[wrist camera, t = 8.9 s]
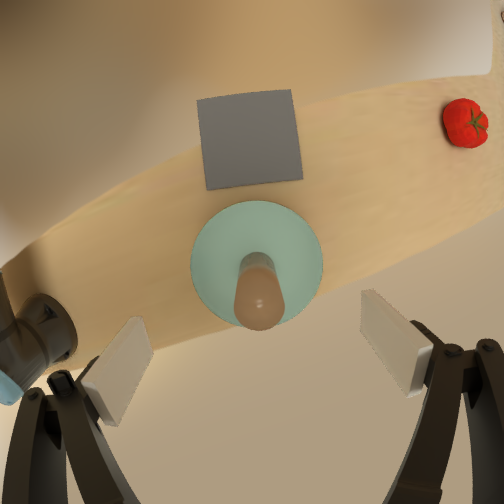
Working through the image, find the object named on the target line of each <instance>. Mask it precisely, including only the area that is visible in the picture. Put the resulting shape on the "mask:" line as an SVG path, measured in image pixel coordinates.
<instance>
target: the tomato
mask: <svg viewBox="0 0 504 504" xmlns="http://www.w3.org/2000/svg"><path fill="white" fill-rule="evenodd" d="M443 121H444V125H445V127H446V129H447V134H448V137H449V139H450V140H451V142H452V143H453V144H454V145H456V146H459V147H466V148H475V147H477V146H480V145H482V144H483V143H484V142H485V141H486V140H487V138H488V135H487V132H486V130H487V128H488V119H487V117H486V115H485V114H484V113H483V112H482V111H481V110H480V106H479V105H478V104H477V103H475V102H474V101H472V100H469V99H465V98H462V99H457V100H454V101H452V102H450V103H449V104H448V105H447V107H446V108H445V110H444V113H443ZM487 131H488V130H487Z"/></svg>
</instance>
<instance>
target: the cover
mask: <svg viewBox="0 0 504 504" xmlns="http://www.w3.org/2000/svg"><path fill="white" fill-rule="evenodd" d="M190 268H191V276H192V280H193V284H194V287H195V289H196V292H197V293H198V295H199V297H200V299H201V300H202V301H203V303H204V304H205V305H206V306H207V307H208V308H209V310H210V311H212V312H213V313H214V314H215V315H217V316H218V317H220V318H221V319H223V320H225V321H227V322H229V323H231V324H234V325H237V326H241V327H246V328H248V329H251V330H256V331H262V330H267V329H270V328H272V327H274V326H275V325H279V324H281V323H284V322H286V321H288V320H290V319H292V318H293V317H295V316H296V315H297V314H299V313H300V312H301V311H302V310H303V309H304V308H305V307H306V306H307V305H308V304H309V302H310V301H311V300H312V299H313V297H314V295H315V294H316V292H317V289H318V287H319V284H320V281H321V277H322V272H323V258H322V251H321V247H320V244H319V242H318V239H317V237H316V235H315V233H314V232H313V230H312V229H311V227H310V226H309V225H308V223H307V222H306V221H305V220H304V219H303V218H301V217H300V216H299V215H298V214H296V213H295V212H294V211H292V210H290V209H288V208H287V207H285V206H282V205H280V204H277V203H273V202H269V201H261V200H254V201H245V202H240V203H237V204H234V205H231V206H229V207H227V208H225V209H223V210H222V211H220V212H219V213H217V214H216V215H215V216H214V217H213V218H211V219H210V220H209V221H208V222H207V223H206V225H205V226H204V227H203V228H202V230H201V231H200V233H199V234H198V236H197V239H196V241H195V243H194V246H193V249H192V254H191V264H190Z"/></svg>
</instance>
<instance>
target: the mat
mask: <svg viewBox="0 0 504 504" xmlns="http://www.w3.org/2000/svg"><path fill="white" fill-rule="evenodd" d="M197 107H198V117H199V127H200V136H201V146H202V154H203V163H204V171H205V179H206V186H207V190H213V189H221V188H228V187H235V186H243V185H252V184H260V183H269V182H279V181H289V180H300V179H303V173H302V164H301V156H300V148H299V141H298V133H297V126H296V120H295V113H294V106H293V100H292V95H291V90H274V91H261V92H251V93H243V94H234V95H227V96H219V97H214V98H207V99H201V100H197Z"/></svg>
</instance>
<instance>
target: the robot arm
mask: <svg viewBox="0 0 504 504" xmlns="http://www.w3.org/2000/svg"><path fill="white" fill-rule="evenodd" d="M361 301H362V302H361V326H360V331H361V333H362V334H363V335H364V337H365V338H366V340H367V341H368V343H369V344H370V345H371V346H372V348H373V350H374V351H375V352H376V354H377V355H378V357H379V358H380V359H381V361H382V362H383V363H384V365H385V366H386V368H387V369H388V371H389V372H390V374H391V375H392V376H393V378H394V379H395V381H396V382H397V384H398V385H399V387H400V388H401V390H402V391H403V393H404V394H405V396H406V397H407V398H409V397H411V396H414V395H417V394H419V393H421V391H422V388H423V384H425V385H426V387H427V388H428V389H427V393H426V396H425V399H424V402H423V407H422V410H421V413H420V416H419V419H418V423H417V425H416V429H415V431H414V434H413V437H412V439H411V442H410V445H409V447H408V450H407V452H406V455H405V457H404V460H403V462H402V464H401V466H400V469H399V471H398V473H397V475H396V477H395V480H394V482H393V484H392V486H391V488H390V490H389V492H388V494H387V496H386V498H385V500H384V501H383V503H382V504H439V502H440V500H441V496H442V490H441V489H440V488H441V483H442V480H443V477H444V474H445V471H446V467H447V464H448V460H449V456H450V452H451V448H452V444H453V439H454V435H455V430H456V425H457V419H458V413H459V407H460V400H461V393H463V395H464V401H465V406H466V413H467V418H468V426H469V434H470V443H471V455H472V471H473V472H472V473H473V500H472V501H473V502H472V503H473V504H504V353H503V351H502V349H501V347H500V345H499V344H498V342H496V341H495V340H493V339H481V340H480V341H478V343H477V345H476V349H475V350H467V351H464V350H463V348H461V347H460V346H458V345H456V344H444V343H443V342H442V341H441V340H440V339H439V338H438V337H437V336H436V335H434V334H433V333H432V332H431V331H430V330H429V329H427V328H426V326H424V325H423V324H422V323H420V322H417V321H415V320H412V321H408V320H407V319H406V318H405V317H404V316H403V315H402V314H401V313H400V312H399V311H397V310H396V309H395V308H394V307H393V306H392V305H391V304H390V303H388V302H387V301H386V300H385V299H384V298H383V297H382V296H381V295H380V294H378V293H377V292H376V291H375V290H374V289H369V290H364V291H362V300H361ZM76 348H77V334H76V331H75V327H74V325H73V323H72V321H71V319H70V317H69V315H68V314H67V312H66V311H65V310H64V308H63V307H62V306H61V305H60V304H59V303H58V302H57V301H56V300H54V299H53V298H51V297H50V296H48V295H45V294H36V295H34V296H32V297H30V298H29V299H27V300H26V301H25V303H24V304H23V306H22V307H21V309H20V310H19V312H18V314H17V315H16V317H15V316H14V314H13V311H12V308H11V305H10V301H9V298H8V295H7V292H6V288H5V285H4V281H3V277H2V271H1V270H0V403H1V404H4V405H13V404H14V403H15V402H16V401H18V400H19V399H20V398H21V397H22V400H21V403H20V407H19V410H18V413H17V417H16V421H15V425H14V429H13V433H12V437H11V442H10V446H9V451H8V457H7V462H6V468H5V476H4V484H3V494H2V504H68V498H67V481H66V451H67V455H68V458H69V461H70V464H71V468H72V471H73V474H74V477H75V480H76V482H77V485H78V488H79V490H80V493H81V495H82V498H83V501H84V503H85V504H141V503H140V502H139V500H138V499H137V497H136V496H135V494H134V492H133V491H132V489H131V487H130V486H129V484H128V482H127V480H126V479H125V477H124V475H123V473H122V471H121V470H120V468H119V466H118V464H117V462H116V460H115V458H114V456H113V454H112V452H111V450H110V448H109V446H108V444H107V442H106V439H105V438H104V435H103V433H102V430H101V428H100V426H99V425H98V423H97V421H98V419H99V417H100V418H101V419H102V421H103V423H104V424H105V425H110V426H115V427H118V426H119V424H120V421H121V419H122V417H123V415H124V413H125V411H126V409H127V407H128V405H129V403H130V401H131V399H132V396H133V394H134V392H135V390H136V388H137V386H138V384H139V382H140V380H141V378H142V376H143V374H144V372H145V370H146V368H147V366H148V364H149V362H150V360H151V358H152V357H153V354H154V353H153V350H152V347H151V344H150V341H149V338H148V335H147V331H146V328H145V325H144V321H143V318H142V316H136V317H131V318H130V319H129V320H128V321H127V322H126V324H125V325H124V326H123V327H122V329H121V330H120V331H119V332H118V334H117V335H116V336H115V337H114V339H113V340H112V341H111V342H110V344H109V345H108V346H107V347H106V349H105V350H104V351H103V353H102V354H101V355H100V356H97V357H95V358H94V359H93V360H91V361H90V363H89V364H88V365H87V367H86V368H85V369H84V370H83V372H82V373H81V374H80V375H79V377H78V378H77V379H76V381H75V382H74V380H73V378H72V376H71V374H70V372H69V371H67V370H59V371H56V372H54V373H52V374H51V375H49V377H48V378H47V383H48V385H49V387H50V389H51V391H52V392H53V394H54V395H45V394H44V392H43V390H42V389H41V388H39V387H34V388H30V387H31V385H32V384H33V383H34V382H35V381H36V380H37V379H38V378H39V377H40V376H41V375H42V374H43V372H44V371H45V370H46V369H47V368H48V367H50V366H53V365H55V364H58V363H60V362H63V361H65V360H67V359H68V358H69V357H70V356H71V355H72V354H73V353H74V352H75V350H76ZM29 388H30V389H29Z"/></svg>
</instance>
